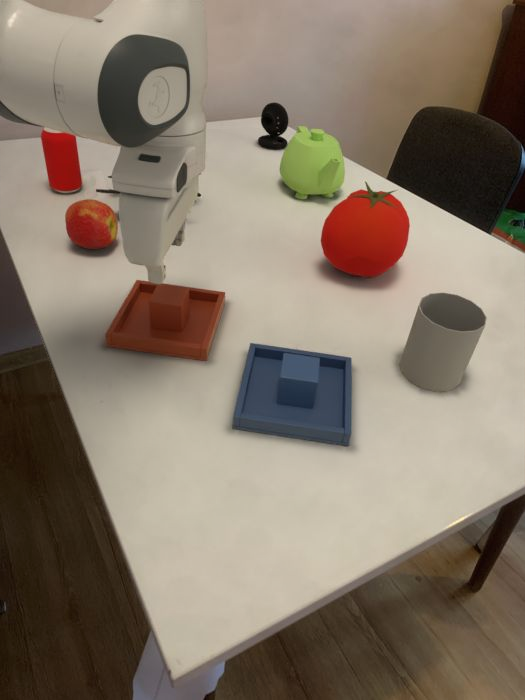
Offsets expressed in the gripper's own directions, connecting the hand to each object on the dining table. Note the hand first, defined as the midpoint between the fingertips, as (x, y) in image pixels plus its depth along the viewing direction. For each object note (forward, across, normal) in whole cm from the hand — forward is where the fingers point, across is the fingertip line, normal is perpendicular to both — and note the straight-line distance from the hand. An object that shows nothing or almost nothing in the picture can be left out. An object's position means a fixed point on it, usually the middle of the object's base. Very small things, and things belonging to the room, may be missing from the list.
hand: (167, 261), depth 68 cm
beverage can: (+12, -41, -31) cm, 53 cm away
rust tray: (+12, -3, -1) cm, 12 cm away
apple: (+12, -21, -18) cm, 30 cm away
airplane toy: (+12, -37, -14) cm, 41 cm away
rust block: (+11, -3, 0) cm, 12 cm away
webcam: (+11, -81, +6) cm, 82 cm away
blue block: (+11, +8, +18) cm, 23 cm away
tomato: (+12, -24, +26) cm, 38 cm away
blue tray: (+12, +8, +18) cm, 23 cm away
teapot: (+11, -56, +17) cm, 59 cm away
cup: (+12, 0, +36) cm, 38 cm away
